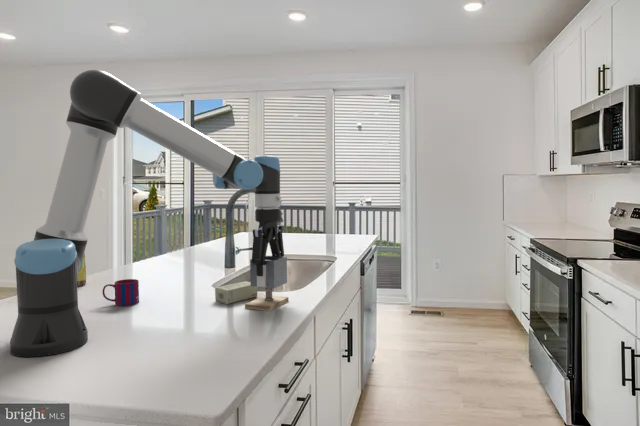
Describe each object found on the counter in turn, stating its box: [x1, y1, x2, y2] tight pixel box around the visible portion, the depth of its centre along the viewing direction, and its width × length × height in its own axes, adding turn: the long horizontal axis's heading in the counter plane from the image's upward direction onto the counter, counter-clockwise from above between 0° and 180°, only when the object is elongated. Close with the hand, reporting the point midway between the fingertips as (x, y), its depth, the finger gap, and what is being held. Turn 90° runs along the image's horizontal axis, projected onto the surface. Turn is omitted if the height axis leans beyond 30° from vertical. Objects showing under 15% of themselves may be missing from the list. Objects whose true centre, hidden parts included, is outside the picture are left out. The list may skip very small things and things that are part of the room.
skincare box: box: [214, 280, 258, 305], centre depth 144 cm, size 6×4×12 cm
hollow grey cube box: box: [249, 254, 288, 289], centre depth 138 cm, size 8×8×8 cm
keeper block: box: [244, 287, 289, 312], centre depth 137 cm, size 12×8×6 cm, turn 156°
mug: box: [102, 278, 140, 307], centre depth 139 cm, size 7×10×7 cm
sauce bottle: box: [77, 252, 87, 287], centre depth 164 cm, size 6×6×20 cm
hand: (269, 283), depth 138 cm, fingers closed on hollow grey cube box, 8 cm apart
